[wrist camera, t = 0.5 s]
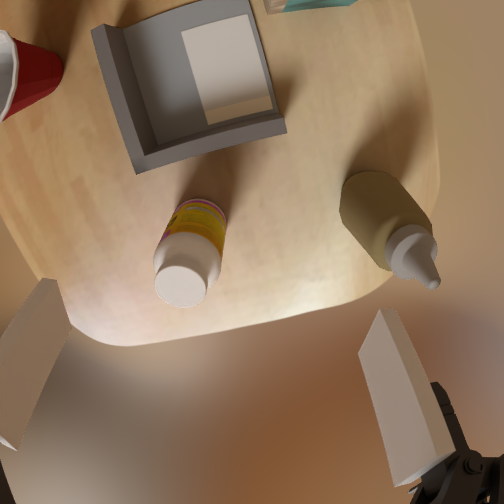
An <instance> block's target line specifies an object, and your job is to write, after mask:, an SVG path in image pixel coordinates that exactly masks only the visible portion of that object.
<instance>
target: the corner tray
mask: <svg viewBox="0 0 504 504" xmlns="http://www.w3.org/2000/svg"><path fill="white" fill-rule="evenodd" d="M90 31H91V35H92V39H93V42H94V46H95V50H96V53H97V57H98V61H99V64H100V68H101V71H102V74H103V78H104V81H105V84H106V88H107V91H108V94H109V97H110V101H111V104H112V107H113V110H114V113H115V116H116V119H117V122H118V125H119V128H120V131H121V134H122V137H123V140H124V142H125V145H126V148H127V151H128V154H129V156H130V159H131V162H132V165H133V167H134V170H135V173H136V175H137V174H140V173H142V172H145V171H148V170H152V169H155V168H158V167H161V166H164V165H167V164H170V163H174V162H177V161H180V160H183V159H187V158H190V157H194V156H197V155H201V154H204V153H208V152H211V151H215V150H219V149H223V148H226V147H230V146H234V145H238V144H242V143H246V142H250V141H254V140H259V139H263V138H267V137H272V136H276V135H281V134H286V133H287V129H286V125H285V121H284V117H283V116H282V115H281V114H280V113H279V111H278V107H277V103H276V99H275V95H274V91H273V87H272V83H271V79H270V75H269V72H268V68H267V64H266V60H265V57H264V53H263V49H262V46H261V42H260V39H259V35H258V31H257V28H256V25H255V21H254V18H253V14H252V11H251V8H250V4H249V1H248V0H201V1H198V2H195V3H191V4H188V5H185V6H182V7H179V8H176V9H173V10H170V11H167V12H164V13H162V14H159V15H156V16H154V17H151V18H148V19H146V20H143V21H141V22H139V23H136V24H134V25H131V26H129V27H127V28H125V29H120V28H117V27H113V26H110V25H107V24H102V25H100V26H98V27H96V28H94V29H92V30H90Z"/></svg>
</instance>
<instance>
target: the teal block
mask: <svg viewBox="0 0 504 504" xmlns="http://www.w3.org/2000/svg"><path fill="white" fill-rule="evenodd" d="M356 1H357V0H263V2H264V5H265V8H266V12H267V15H271V14H277V13H283V12H290V11H297V10H305V9H314V8H324V7H337V6H350V5H351V4H353V3H354V2H356Z"/></svg>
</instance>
